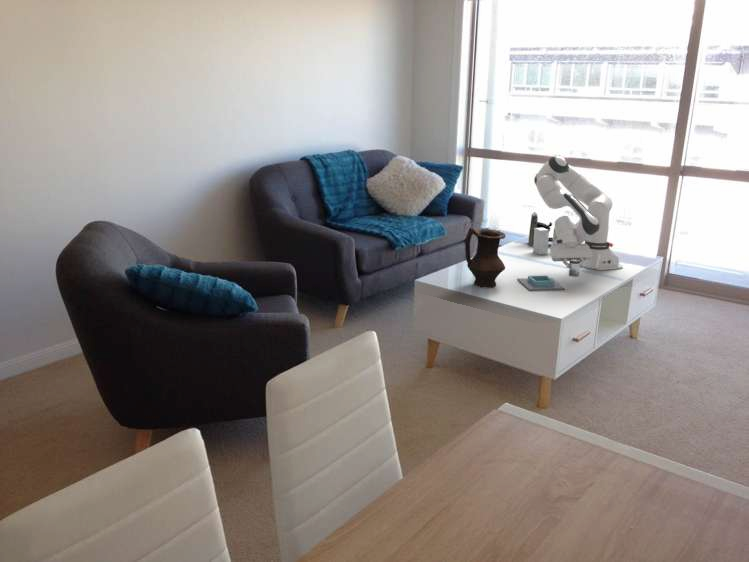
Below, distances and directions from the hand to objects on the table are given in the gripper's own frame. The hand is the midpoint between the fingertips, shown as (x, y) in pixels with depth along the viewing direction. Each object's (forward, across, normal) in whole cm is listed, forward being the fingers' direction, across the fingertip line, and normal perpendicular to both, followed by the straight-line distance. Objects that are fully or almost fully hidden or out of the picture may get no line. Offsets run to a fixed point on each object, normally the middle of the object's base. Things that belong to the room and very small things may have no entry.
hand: (575, 267), depth 325 cm
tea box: (-46, -23, -55) cm, 75 cm away
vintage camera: (-58, -15, -66) cm, 89 cm away
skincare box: (-43, -7, -52) cm, 68 cm away
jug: (+2, +45, -12) cm, 46 cm away
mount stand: (+4, +16, -10) cm, 19 cm away
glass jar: (+3, 0, -4) cm, 4 cm away
